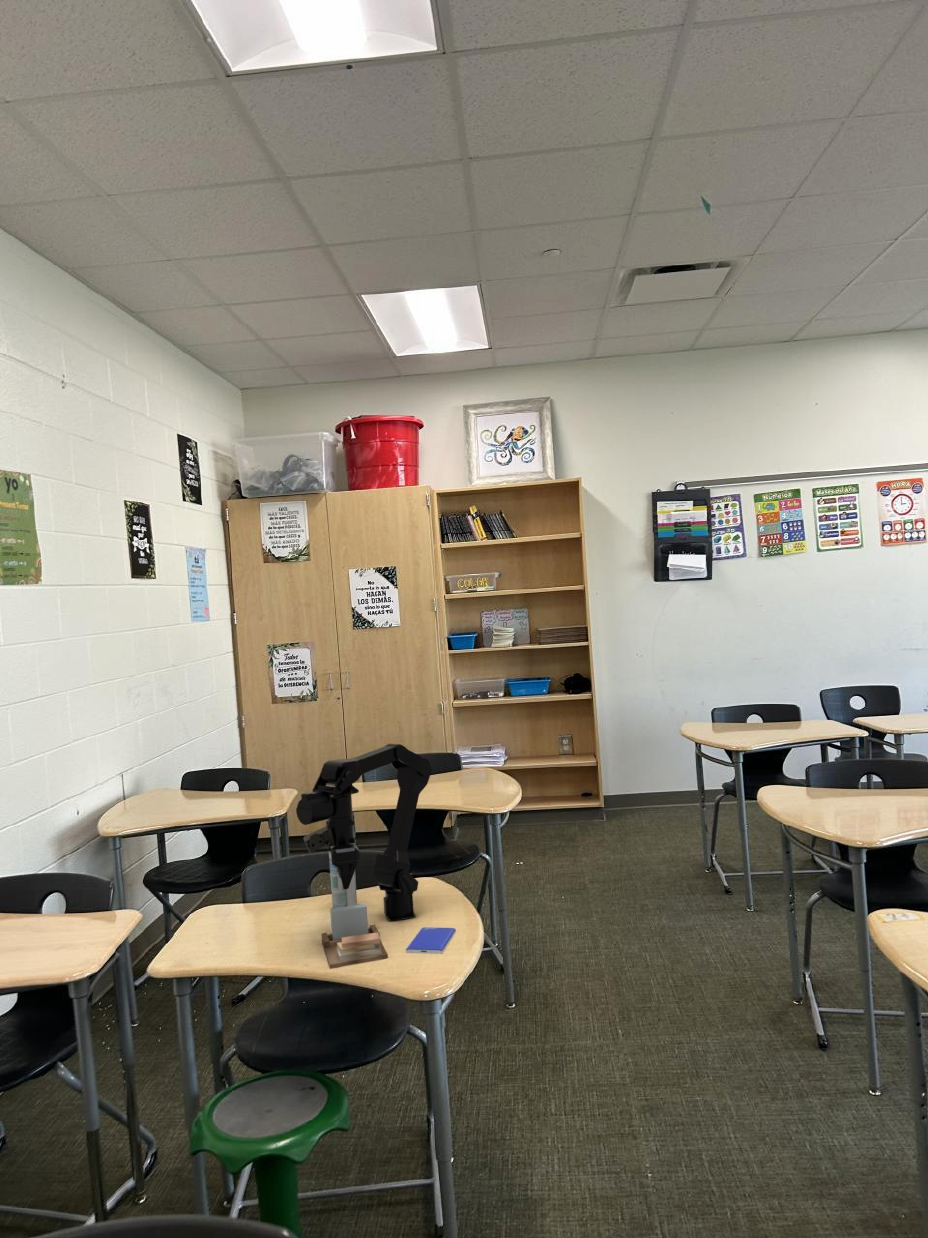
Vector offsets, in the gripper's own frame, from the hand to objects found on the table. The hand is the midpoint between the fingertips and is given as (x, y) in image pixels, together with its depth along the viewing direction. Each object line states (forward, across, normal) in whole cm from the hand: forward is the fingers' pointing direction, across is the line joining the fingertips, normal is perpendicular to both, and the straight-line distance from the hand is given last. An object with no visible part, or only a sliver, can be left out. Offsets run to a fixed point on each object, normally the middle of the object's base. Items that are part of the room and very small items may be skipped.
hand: (343, 883), depth 187 cm
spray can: (+13, -21, +2) cm, 25 cm away
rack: (+13, +8, +1) cm, 15 cm away
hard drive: (+13, +10, +18) cm, 25 cm away
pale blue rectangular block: (+13, +3, +1) cm, 13 cm away
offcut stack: (+13, +12, +1) cm, 18 cm away
